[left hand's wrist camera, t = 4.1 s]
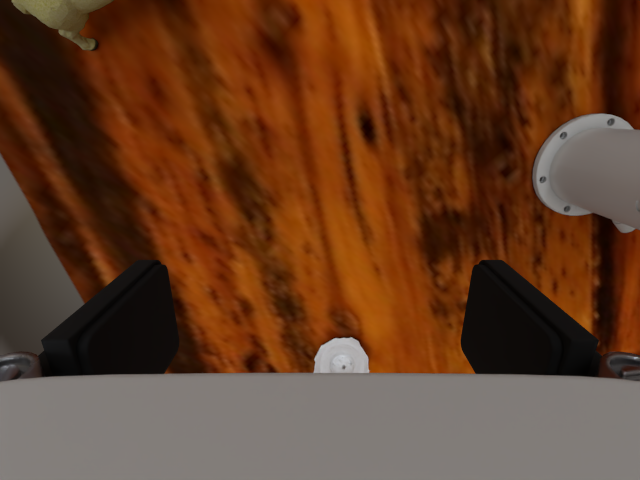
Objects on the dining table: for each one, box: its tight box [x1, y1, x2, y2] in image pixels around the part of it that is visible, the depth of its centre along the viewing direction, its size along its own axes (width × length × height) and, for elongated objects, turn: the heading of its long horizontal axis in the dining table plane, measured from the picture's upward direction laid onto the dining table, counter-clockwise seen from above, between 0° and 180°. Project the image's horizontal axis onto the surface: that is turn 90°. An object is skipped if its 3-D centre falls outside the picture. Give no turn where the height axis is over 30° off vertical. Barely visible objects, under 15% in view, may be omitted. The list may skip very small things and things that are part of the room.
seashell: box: [314, 337, 369, 373], centre depth 53 cm, size 8×5×8 cm
